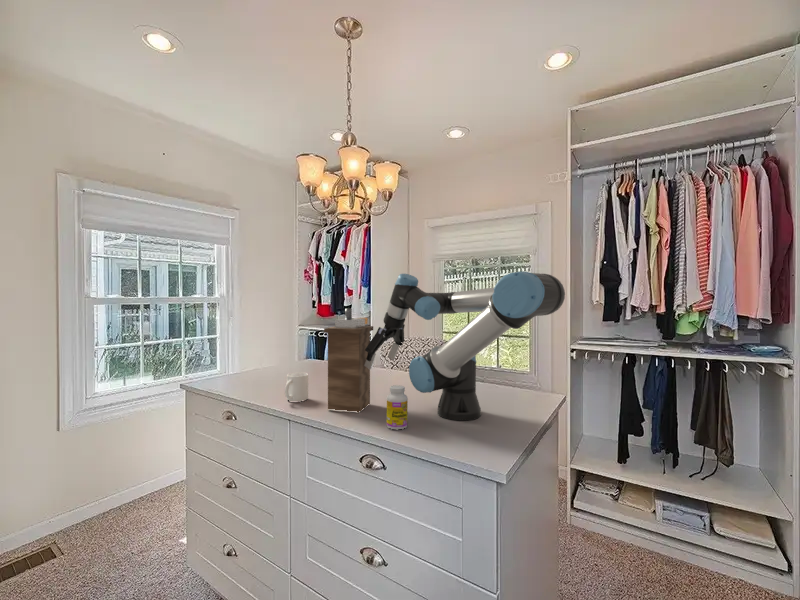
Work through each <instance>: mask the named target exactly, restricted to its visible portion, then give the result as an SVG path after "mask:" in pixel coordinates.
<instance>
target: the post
mask: <svg viewBox="0 0 800 600" xmlns="http://www.w3.org/2000/svg"><path fill="white" fill-rule="evenodd" d="M371 331H374V326H373V325H368V326H367V325H365V326H364V327H360V328H335V325H334V326H330V327H324V328H323V333H324V334H325V333H327V410H328V409H335V410H347V411H357V412H359V411H361V410H362V409H363V408H365V407H366V406H367V405H368V404H370V405H371V369H368V368H367V367H365V366H364V365H365V362H366V358H367V355H368V352H367V351H365V349H366V347H367V346H368V344H369V343H370V342H371ZM368 406H369V405H368ZM368 406H367V407H368ZM367 407H366V408H367ZM366 408H365V409H366ZM362 411H363V410H362ZM362 411H361V412H362Z"/></svg>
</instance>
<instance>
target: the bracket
mask: <svg viewBox="0 0 800 600" xmlns="http://www.w3.org/2000/svg"><path fill="white" fill-rule="evenodd" d="M352 312H353V309H352V308H345V309H344V315H345V318H338V319H335V320H334V324H335V325H334V326H335V328H360V327H364V326H366V325H368V317H354V318H353V313H352Z"/></svg>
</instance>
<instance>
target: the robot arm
mask: <svg viewBox="0 0 800 600" xmlns="http://www.w3.org/2000/svg"><path fill="white" fill-rule="evenodd" d="M418 286H419V279H418V278H417V277H416V276H414V275H411V274H408V273H400V274H399V275H398V276H397V279H396V281H395V283H394V287H393V289H392V294H391V296H390V300H389V302H388V306H387V308H386V312H385V314H384V318H383V323H384V326H383V327H381V326H379V327H378V329H377V330H376V332H375V334H374V336H373V337H372V339H370V343H369V344H368V346H367V347H366V349H365V351H367V352H368V355H367V358H366V362H365V365H364V366H365V367H367V368H368V369H370V370H371V369H372V367H373V364H374V361H375V358H376V355H377V354H376V352H377V351H378V350H379V349H380V348H381V346H383V344H384V343H385V342H387V341H388V340H389V339H391V338H392V339H393V341H394V342H392V344H391V348H390V350H389V353H388V356H387V357H388V358H389V359H391V360H392V361H394V360H395V359H396V356H397V354H398V351H399V348H400V347H402V346H403V344H404V343H405V327H406V325H405V321H406V318H407V316H408V313H409V310H412V311H413V312H414V313H415V314H416V315H417V316H419V317H420V318H421V319H424V320H427V321H430V320H432V319H434V318H437V316H438V315H441V314H443V315H444V314H446V315H448V314H449V315H451V314H453V315H454V314H459V313H460V314H462V313H463V314H464V313H478V312H479V313H478V314H477V315H476V316H474V318H472V320H471V321H469V322H468V323H467V324H465V326H463V327H462V328H461V329H460V330H459V331H458V332H457V333H456V334H455V335H454V336H452V337H451V338H450V339H449V340H448V341H447V342H445V343H444V344H443V345H436V346H434V347H432V348H431V349H430V350H429V351H428V352H427V353H425V354H424V355H419V356H415V357H414V358H412V359H411V361H410V363H409V365H408V370H409V372H408V376H409V379H410V382H411V384H412V386H413V388H414V389H415V390H416V391H418V392H419V393H423V394H425V393H428V394H429V393H432V392H436V391H440V390H442V391H441V395H440V398H439V402H438V405H437V415H438V416H439V417H441V418H444V419H446V420H447V419H448V420H452V421H473V420H475V419H479V418H480V417H481V415H482V410H481V406H480V402H479V399H478V396H477V392H476V390H477V388H476V387H477V385H476V383H477V376H476V375H477V358H476V357H477V355H478V354H479V353H481V352H482V351H484V349H486V348H487V347H489V346H490V344H492V343H493V342H495V341H496V340H497V339H499V338H500V337H501V336H502V335H503V334H505V333H506V332H508V330H510V329H512V330H513V329H514V330H518V329H520V328H521V327H523V326H525V324H527V323H528V322H530V320H532V319H534V318H535V317H538V316H539V317H541V316H542V317H543V316H548V315H552V314H554V313H556V312H557V311H558V310H560V308H562V305H563V304H564V301H565V298H566V292H565V288H564V284H562V282H561V280H559V279H558V278H557V277H555V276H553V275H552V274H548V273H537V272H536V273H535V272H529V271H523V270H522V271H515V272H510V273H507V274H505V275H504V276H501V278H500V279H499V280H497V281H496V284H495V285H494V287H488V288H479V289H469V290H461V291H450V292H425V291H423V290H422V289H420V287H418Z"/></svg>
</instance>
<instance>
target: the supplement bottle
mask: <svg viewBox="0 0 800 600" xmlns="http://www.w3.org/2000/svg"><path fill="white" fill-rule="evenodd" d="M405 388H406V387H405V386H404V385H398V384H396V385H390V386H389V394H387V396H386V427H387V429H389V428H391V429H390V430H392V429H402V430H405V429H407V427H408V402H409V401H408V400H409V399H408V396H407V394H405V391H406V390H405ZM404 428H405V429H404Z"/></svg>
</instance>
